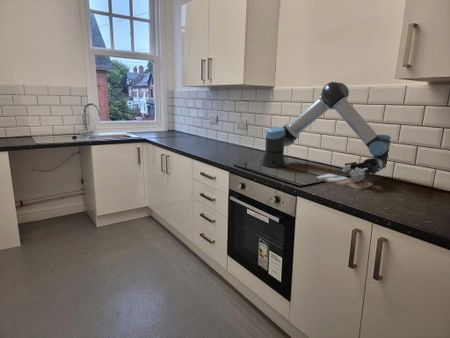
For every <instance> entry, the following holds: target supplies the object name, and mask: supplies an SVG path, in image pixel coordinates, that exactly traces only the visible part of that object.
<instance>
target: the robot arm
mask: <svg viewBox="0 0 450 338" xmlns="http://www.w3.org/2000/svg"><path fill="white" fill-rule="evenodd" d="M349 95H350V91H349V87H348V86H347V85H346V84H344V83H342V82H337V81H331V82H328V83H326V84H325V85H324V86H323V88H322V90H321V93H320V94H319V98H318V99H317V100H315V102H314V103H312V104H311V105H309V106H308V108H306V110H304V111H303V112H302V113H301V114H300V115H299V116H298V117H296V118H295V119H294V120H293V121H292V122H291V123H289V122H287V123H286V124H284V125H283V127H277V126H276V127H275V126H274V127H269V128H267V129H266V133H265V145H264V146H265V151H264V155H263V157H262V160H261V165H262V166H264V167H266V168H267V167H268V168H275V169H276V168H277V169H278V168H285V167H286V163H287V162H286V160H285V159H286V158H285V155H284V153H285V147H289V146H291V145H292V144H294V142H295V141H296V140H297V139H298V138H299V137H300V134H301V133H302V132H303V131H304V130H305V129H307V128H308V127H309V126H310V125H311V124H312V123H314V122H315V121H316V120H317V119H319V118H320V117H321V116H322V115H324V114H325V113H326V112H327V111H328V110H335V111H336V113H338V115H339V116H340V117H341V118H342V119H343V121H344V122H345V123H346V124H347V125H348V126H349V127H350V128H351V130H352V131H353V132H354V134H356V136H357V137H358V138H359V139H360V140H361V142H363V143H364V145H365V146H366V147H367V148H368V152H369V154H371V155H372V157H371V158H367V159H365V160H364V161H362V162H357V161H354V162H348V163H345V164H344V165H343V166H342V173H343V172H348V171H351V170H352V169H354V168H356V166H357V168H360V169H361V170H360V175H364V174H365V175H366V174H372V175H376V173H378V172H381V170H383V168H384V169H386V168H387V167H386V164H387V158H389V155H388V152H389V153H390V148H391V142H390V139H391V140H392V137H390V136H391V135H389V134H377V132H375V130H374V129H373V128H372V127H371V126H370V124H369V123H368V122H367V121H366V120H365V119H364V118H363V116H361V114H360V113H359V112H358V111H357V110H356V109H355V107H354V106H353V105H352V104H351V103H350V102H349V101H348V97H349ZM388 135H389V136H388ZM389 147H390V148H389ZM385 167H386V168H385Z"/></svg>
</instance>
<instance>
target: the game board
mask: <svg viewBox="0 0 450 338" xmlns="http://www.w3.org/2000/svg"><path fill="white" fill-rule="evenodd" d="M315 180H319V181H322V180H323V181H324V182H328V183H330V184H331V183H332V184H335V185H339V186H343V187H348V188H352V189H356V190H359V191H361V190H364V189H366V188H369V187H372V186H373V182H369V181H364V180H361V181H360V182H358V184H357V182H355V181H352V180H351V181H350V177H346V176H342V175H338V174H332V173H324V174H320V175H318V176H315Z"/></svg>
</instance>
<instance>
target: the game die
mask: <svg viewBox="0 0 450 338" xmlns="http://www.w3.org/2000/svg"><path fill="white" fill-rule="evenodd" d="M360 170H361V169H360V168H357V166H356V168H354V169H350V170H349V171H347V172H348V174H349V175H348V176H349V178H350V181H351V180H352V181H355V182H357V184H358V182H360V181H364V179H365V180H366V179H368V177H366V176H365V175H366V174H364V175H360Z"/></svg>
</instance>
